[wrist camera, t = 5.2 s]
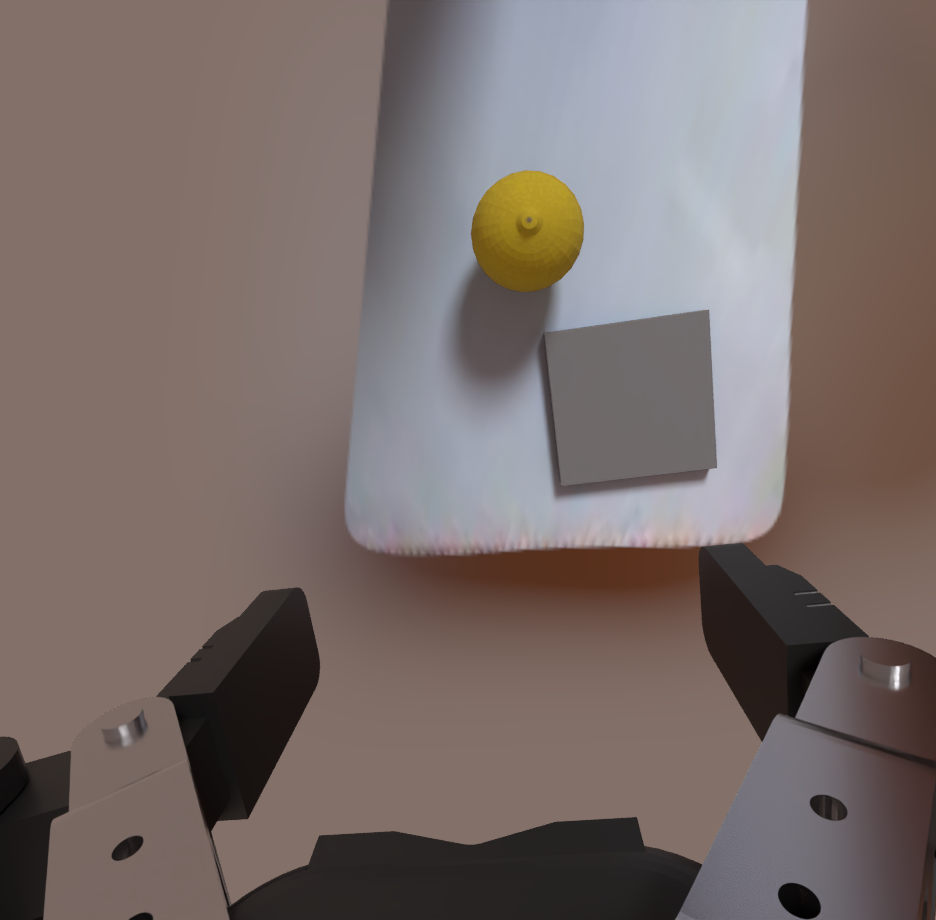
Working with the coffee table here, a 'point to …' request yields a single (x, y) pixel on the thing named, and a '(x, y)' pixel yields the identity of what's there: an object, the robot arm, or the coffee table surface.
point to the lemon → (527, 231)
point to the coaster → (632, 398)
